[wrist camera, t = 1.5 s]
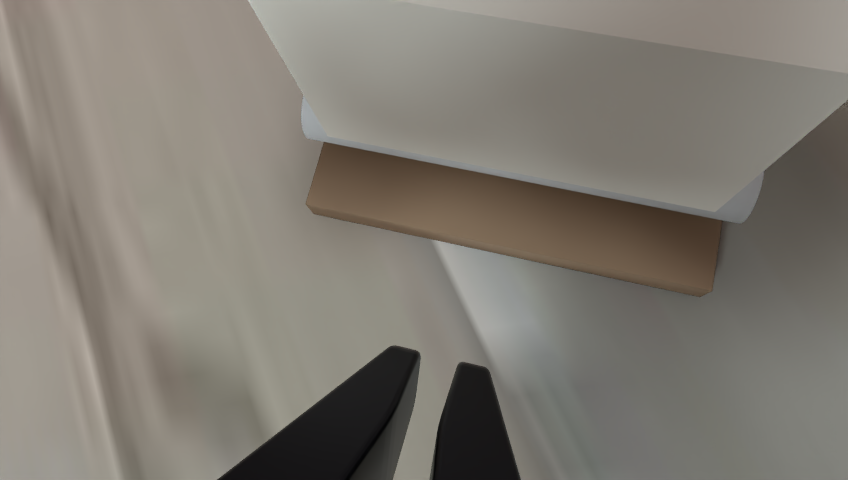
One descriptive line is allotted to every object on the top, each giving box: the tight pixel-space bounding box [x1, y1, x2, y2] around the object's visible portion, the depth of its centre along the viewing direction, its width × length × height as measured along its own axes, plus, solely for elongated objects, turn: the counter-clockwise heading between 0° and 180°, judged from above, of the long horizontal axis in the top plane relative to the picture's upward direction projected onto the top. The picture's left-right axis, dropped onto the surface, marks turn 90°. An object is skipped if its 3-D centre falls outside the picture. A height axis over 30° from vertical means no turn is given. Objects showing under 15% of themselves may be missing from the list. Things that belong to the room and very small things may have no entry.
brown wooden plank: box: [306, 142, 722, 297], centre depth 24 cm, size 18×14×1 cm
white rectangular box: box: [248, 0, 848, 224], centre depth 18 cm, size 7×14×10 cm, turn 76°
